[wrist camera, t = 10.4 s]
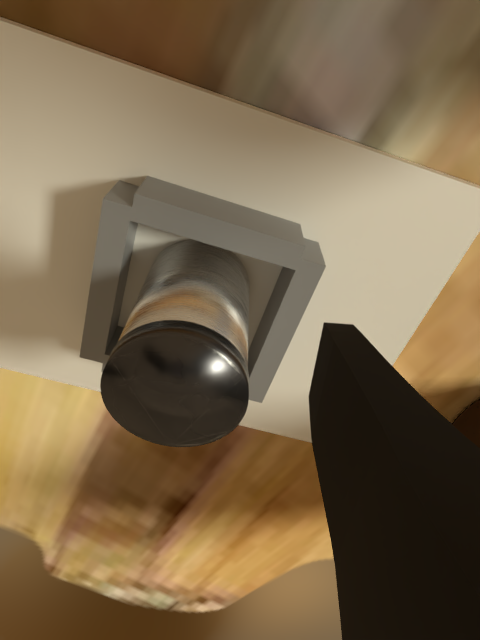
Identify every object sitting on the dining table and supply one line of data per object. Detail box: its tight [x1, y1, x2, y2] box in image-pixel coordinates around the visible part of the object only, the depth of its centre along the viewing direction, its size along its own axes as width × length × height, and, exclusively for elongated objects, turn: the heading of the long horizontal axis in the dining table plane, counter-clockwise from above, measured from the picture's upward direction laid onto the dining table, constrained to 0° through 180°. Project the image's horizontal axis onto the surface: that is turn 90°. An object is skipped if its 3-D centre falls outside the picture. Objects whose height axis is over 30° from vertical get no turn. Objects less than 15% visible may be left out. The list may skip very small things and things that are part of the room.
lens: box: [100, 239, 249, 447], centre depth 16 cm, size 4×4×7 cm
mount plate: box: [0, 17, 480, 443], centre depth 19 cm, size 20×15×3 cm
